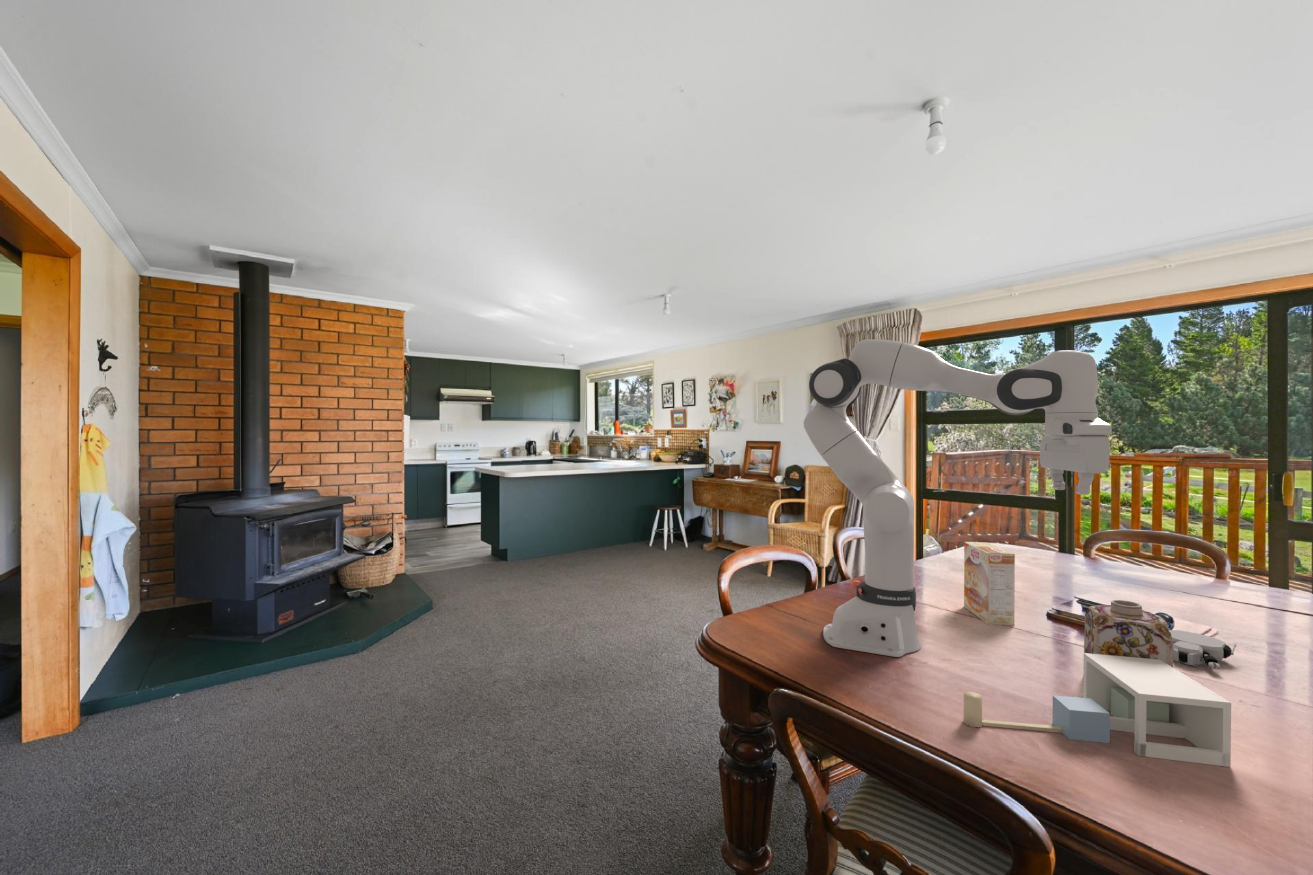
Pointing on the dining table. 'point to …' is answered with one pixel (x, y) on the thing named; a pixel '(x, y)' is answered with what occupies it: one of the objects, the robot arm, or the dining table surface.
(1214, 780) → the dining table surface
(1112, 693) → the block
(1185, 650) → the robot toy
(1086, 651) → the decorative jar
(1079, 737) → the corded block
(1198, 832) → the dining table surface
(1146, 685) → the shelf
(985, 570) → the coffeecake box
